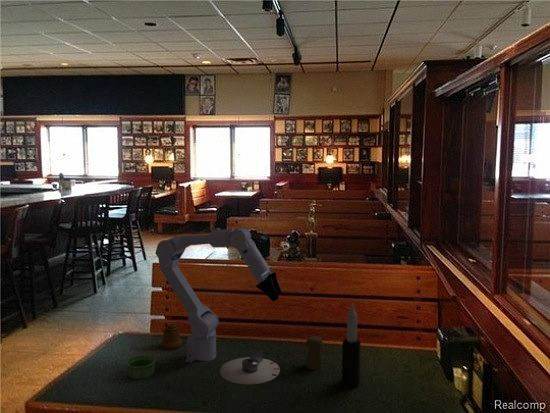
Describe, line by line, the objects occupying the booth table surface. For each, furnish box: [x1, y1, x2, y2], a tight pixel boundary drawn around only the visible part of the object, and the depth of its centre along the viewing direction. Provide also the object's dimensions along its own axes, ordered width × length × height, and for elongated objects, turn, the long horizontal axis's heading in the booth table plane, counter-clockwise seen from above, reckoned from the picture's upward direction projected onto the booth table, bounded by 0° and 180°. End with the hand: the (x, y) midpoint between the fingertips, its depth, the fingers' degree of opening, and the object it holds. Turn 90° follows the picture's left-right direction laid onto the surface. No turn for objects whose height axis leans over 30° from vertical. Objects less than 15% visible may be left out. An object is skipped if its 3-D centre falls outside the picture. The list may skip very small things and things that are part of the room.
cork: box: [305, 335, 324, 376], centre depth 149 cm, size 6×6×11 cm
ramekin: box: [125, 354, 156, 380], centre depth 146 cm, size 9×9×4 cm
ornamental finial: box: [160, 323, 183, 351], centre depth 168 cm, size 8×8×8 cm
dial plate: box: [219, 356, 281, 385], centre depth 146 cm, size 19×19×2 cm
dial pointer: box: [242, 350, 264, 372], centre depth 148 cm, size 10×5×3 cm, turn 155°
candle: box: [341, 302, 362, 388], centre depth 140 cm, size 5×5×25 cm
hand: (277, 297), depth 147 cm, fingers open, 7 cm apart
